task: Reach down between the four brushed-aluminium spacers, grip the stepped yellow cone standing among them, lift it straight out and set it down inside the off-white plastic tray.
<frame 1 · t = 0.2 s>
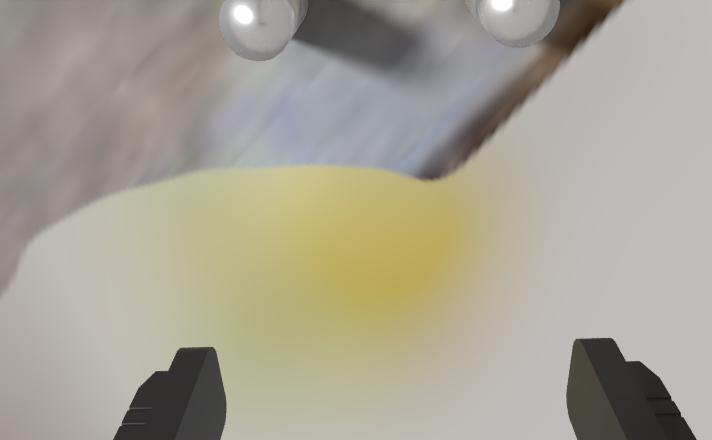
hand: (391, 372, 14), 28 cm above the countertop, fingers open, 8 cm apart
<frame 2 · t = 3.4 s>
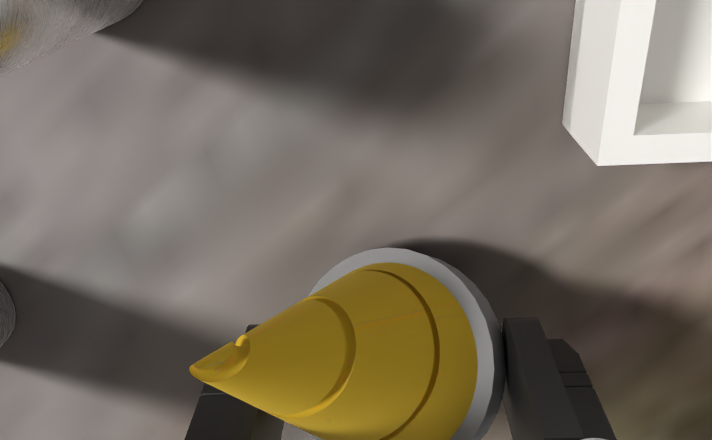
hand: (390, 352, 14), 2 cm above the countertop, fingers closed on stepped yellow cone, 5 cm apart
stepped yellow cone: (354, 286, 17), on the countertop, touching gripper
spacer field: (376, 289, 16), on the countertop
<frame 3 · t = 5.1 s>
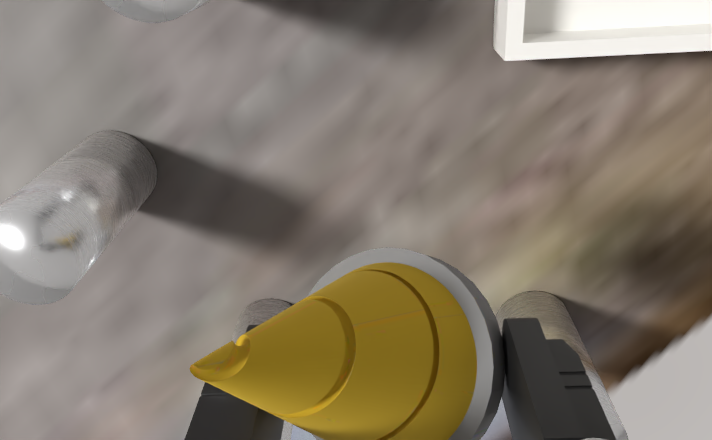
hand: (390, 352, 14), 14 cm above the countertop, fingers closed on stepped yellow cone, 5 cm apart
stepped yellow cone: (354, 286, 17), point 11 cm above the countertop, touching gripper
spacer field: (384, 157, 26), on the countertop
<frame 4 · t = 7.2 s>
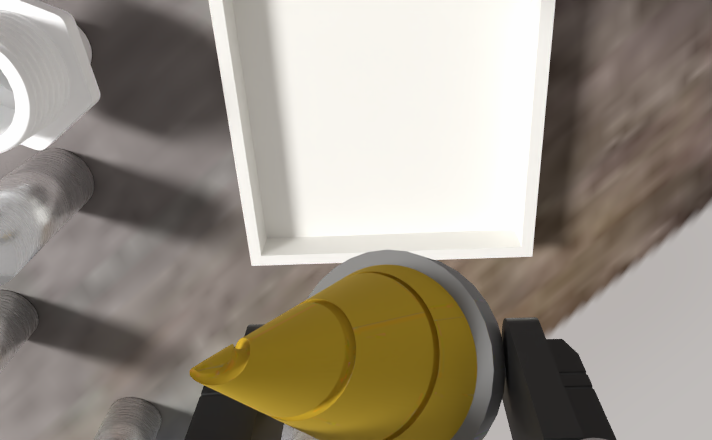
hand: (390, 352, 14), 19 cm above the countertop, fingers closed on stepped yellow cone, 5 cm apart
pipe fitting: (62, 47, 30), on the countertop
tray: (384, 111, 31), on the countertop
stepped yellow cone: (354, 288, 17), point 16 cm above the countertop, touching gripper
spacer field: (197, 308, 37), on the countertop
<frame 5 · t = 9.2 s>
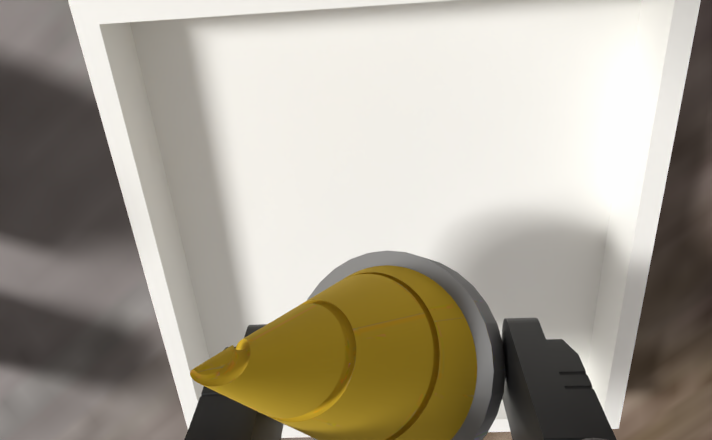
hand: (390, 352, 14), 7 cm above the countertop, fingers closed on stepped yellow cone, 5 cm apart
tray: (390, 212, 20), on the countertop
stepped yellow cone: (354, 289, 17), point 4 cm above the countertop, touching gripper
when the fingers open (4 cm above the countertop, at t = 10.7 s): stepped yellow cone stays where it is, resting on tray.
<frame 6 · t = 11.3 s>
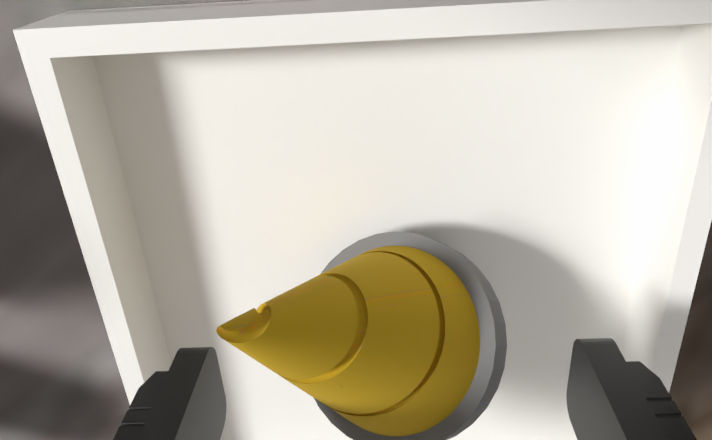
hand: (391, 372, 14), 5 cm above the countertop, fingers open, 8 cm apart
tray: (388, 264, 18), on the countertop
stepped yellow cone: (361, 270, 17), resting on tray
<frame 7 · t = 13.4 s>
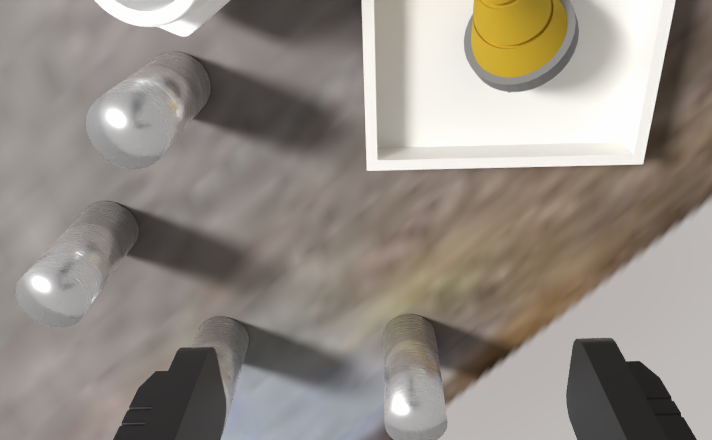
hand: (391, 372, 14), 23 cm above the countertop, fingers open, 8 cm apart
tray: (505, 17, 32), on the countertop
stepped yellow cone: (492, 18, 31), resting on tray
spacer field: (297, 222, 38), on the countertop
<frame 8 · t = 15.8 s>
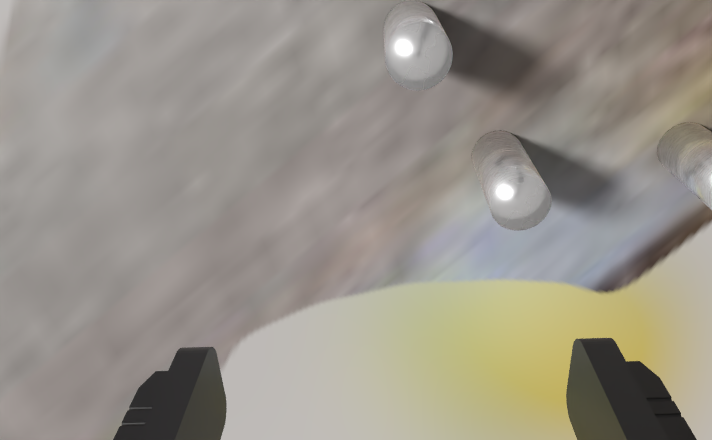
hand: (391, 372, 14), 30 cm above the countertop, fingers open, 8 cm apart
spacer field: (598, 19, 38), on the countertop
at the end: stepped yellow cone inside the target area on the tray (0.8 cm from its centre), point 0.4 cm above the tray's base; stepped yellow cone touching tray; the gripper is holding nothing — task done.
